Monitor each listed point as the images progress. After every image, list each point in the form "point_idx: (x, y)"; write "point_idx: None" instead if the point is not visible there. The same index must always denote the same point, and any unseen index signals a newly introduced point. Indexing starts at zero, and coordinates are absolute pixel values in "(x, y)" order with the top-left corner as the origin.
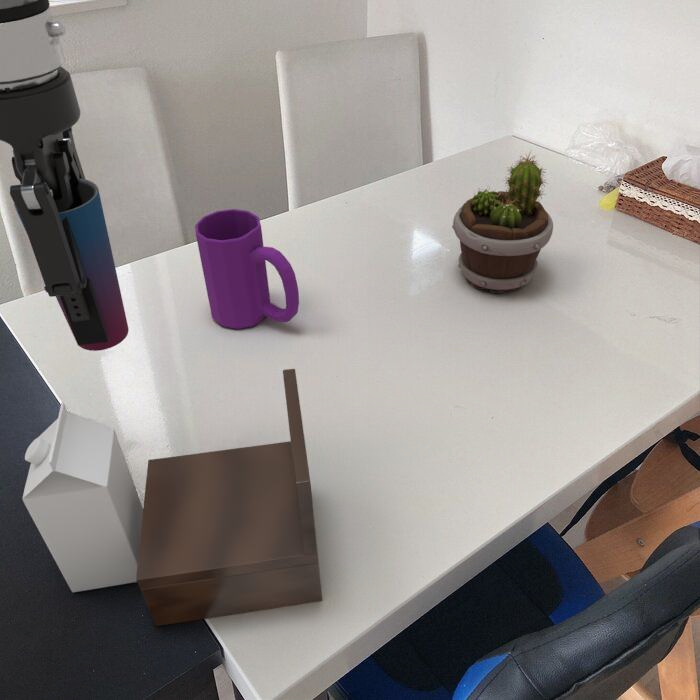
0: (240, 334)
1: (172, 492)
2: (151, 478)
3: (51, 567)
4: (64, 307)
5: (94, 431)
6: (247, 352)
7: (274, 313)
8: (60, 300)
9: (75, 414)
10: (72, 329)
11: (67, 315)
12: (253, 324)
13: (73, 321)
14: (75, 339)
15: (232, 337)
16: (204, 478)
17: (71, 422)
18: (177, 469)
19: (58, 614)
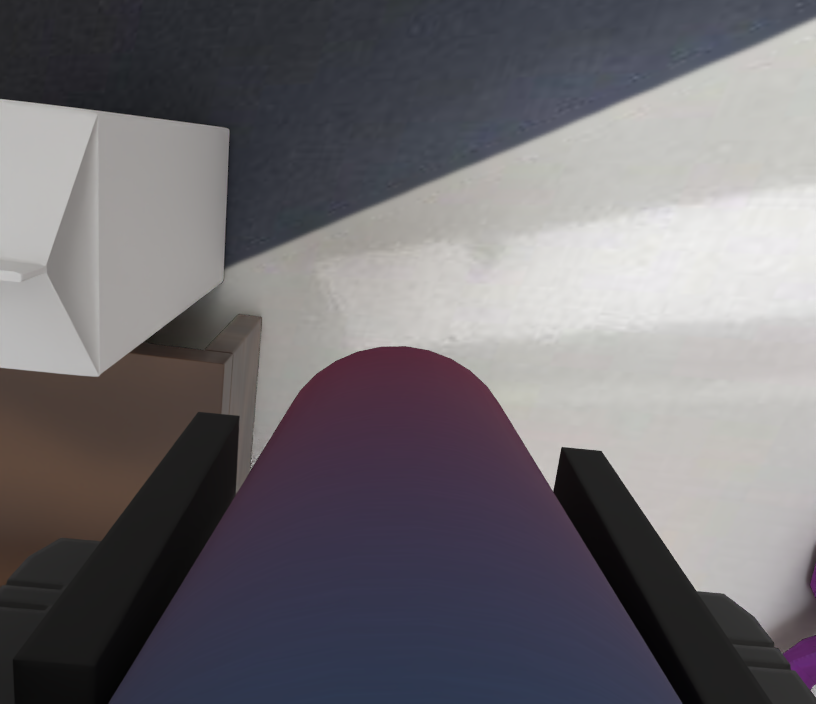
0: (795, 548)
1: (96, 415)
2: (153, 369)
3: (154, 58)
4: (100, 542)
5: (29, 335)
6: (715, 554)
7: (801, 667)
8: (254, 489)
9: (51, 294)
10: (165, 457)
11: (130, 506)
12: (812, 590)
13: (62, 538)
14: (348, 361)
15: (792, 528)
16: (127, 491)
17: (2, 282)
18: (172, 432)
19: (28, 79)
